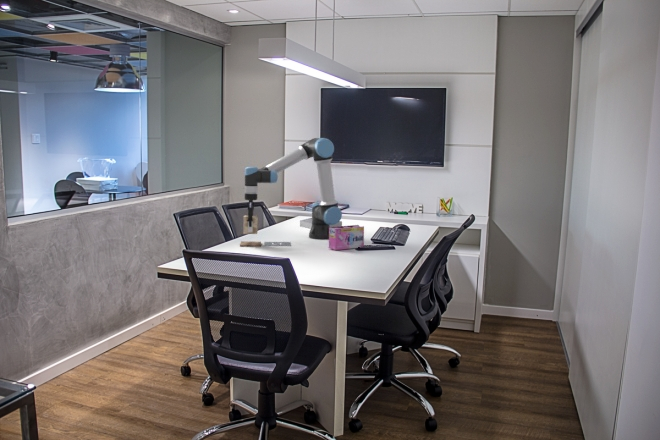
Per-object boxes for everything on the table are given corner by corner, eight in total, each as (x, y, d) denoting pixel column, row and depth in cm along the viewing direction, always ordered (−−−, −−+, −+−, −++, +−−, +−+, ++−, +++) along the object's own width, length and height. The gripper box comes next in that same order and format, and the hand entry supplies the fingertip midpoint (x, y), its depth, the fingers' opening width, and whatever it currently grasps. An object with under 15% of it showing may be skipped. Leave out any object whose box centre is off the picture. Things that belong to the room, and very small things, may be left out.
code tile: (290, 242, 366) (290, 241, 366) (290, 246, 353) (290, 245, 352) (264, 241, 365) (264, 241, 365) (264, 245, 351) (264, 245, 351)
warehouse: (299, 228, 431) (300, 217, 430) (315, 226, 440) (315, 216, 439) (325, 233, 408) (326, 222, 407) (341, 232, 417) (342, 221, 416)
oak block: (257, 232, 357) (257, 215, 355) (257, 234, 349) (257, 217, 348) (244, 231, 356) (244, 215, 355) (243, 233, 348) (243, 217, 347)
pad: (261, 243, 360) (261, 241, 360) (260, 246, 348) (260, 244, 348) (241, 243, 359) (241, 241, 359) (239, 246, 347) (239, 244, 347)
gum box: (358, 245, 361) (358, 224, 360) (365, 247, 355) (366, 226, 354) (328, 248, 349) (328, 227, 347) (335, 250, 343) (336, 228, 341)
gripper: (245, 191, 359) (245, 228, 362) (243, 194, 339) (243, 233, 342) (258, 191, 360) (257, 228, 363) (256, 194, 339) (256, 233, 342)
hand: (250, 231), depth 352 cm, fingers closed on oak block, 8 cm apart
